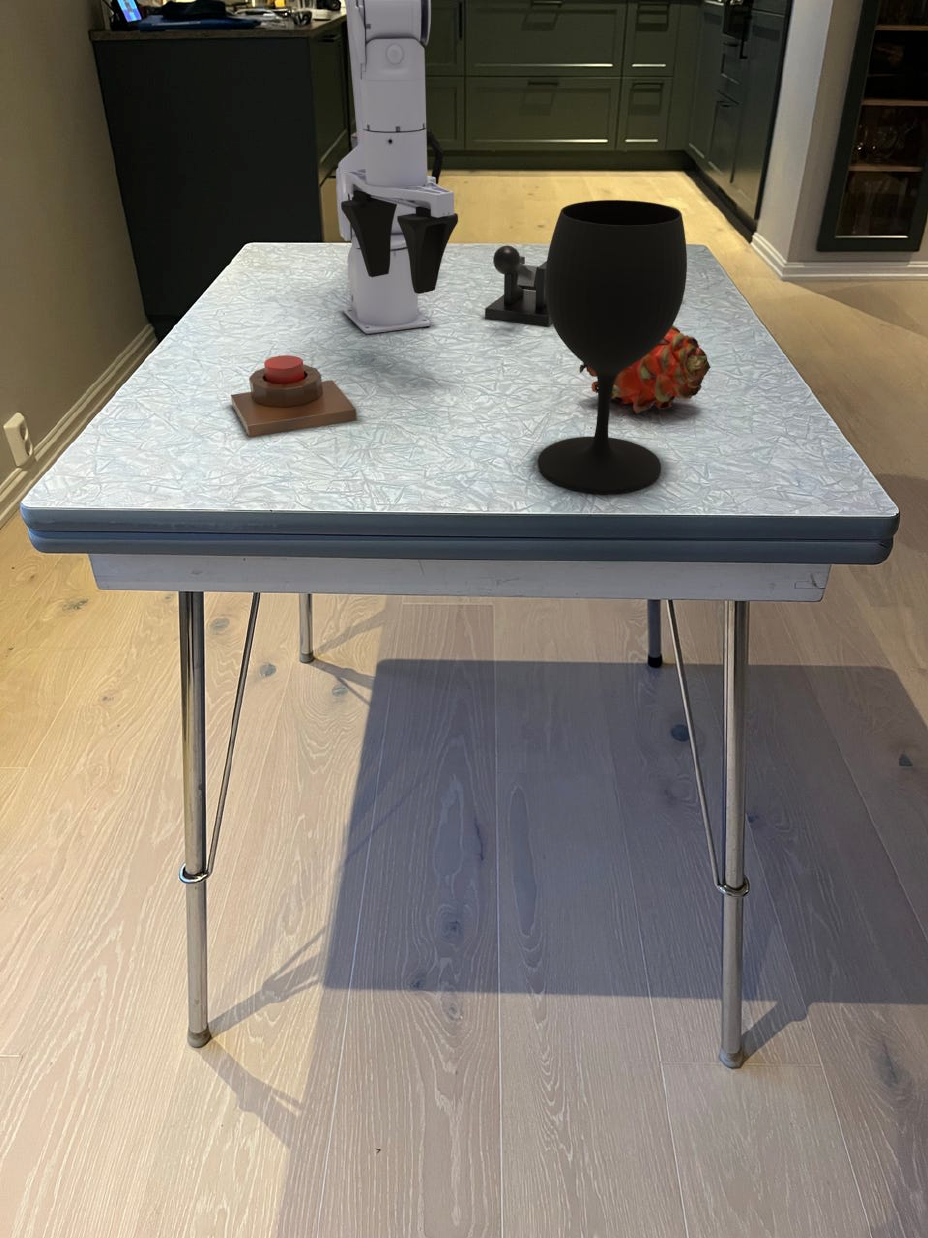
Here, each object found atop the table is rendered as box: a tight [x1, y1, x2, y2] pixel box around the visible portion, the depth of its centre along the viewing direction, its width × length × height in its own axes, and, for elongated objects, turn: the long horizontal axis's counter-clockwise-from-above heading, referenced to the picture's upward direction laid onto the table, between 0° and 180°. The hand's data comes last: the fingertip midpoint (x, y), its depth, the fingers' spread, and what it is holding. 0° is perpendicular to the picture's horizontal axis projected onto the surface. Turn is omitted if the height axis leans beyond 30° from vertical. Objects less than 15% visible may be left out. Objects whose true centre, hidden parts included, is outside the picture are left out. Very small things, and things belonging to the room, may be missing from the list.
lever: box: [492, 244, 539, 291], centre depth 108 cm, size 12×3×3 cm, turn 157°
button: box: [263, 354, 305, 384], centre depth 88 cm, size 4×4×2 cm
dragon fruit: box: [579, 324, 712, 414], centre depth 88 cm, size 8×8×12 cm
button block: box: [230, 364, 358, 439], centre depth 88 cm, size 10×9×3 cm
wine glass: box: [537, 199, 688, 495], centre depth 73 cm, size 10×10×20 cm
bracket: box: [484, 255, 552, 327], centre depth 113 cm, size 9×8×6 cm
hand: (401, 283), depth 92 cm, fingers open, 7 cm apart
